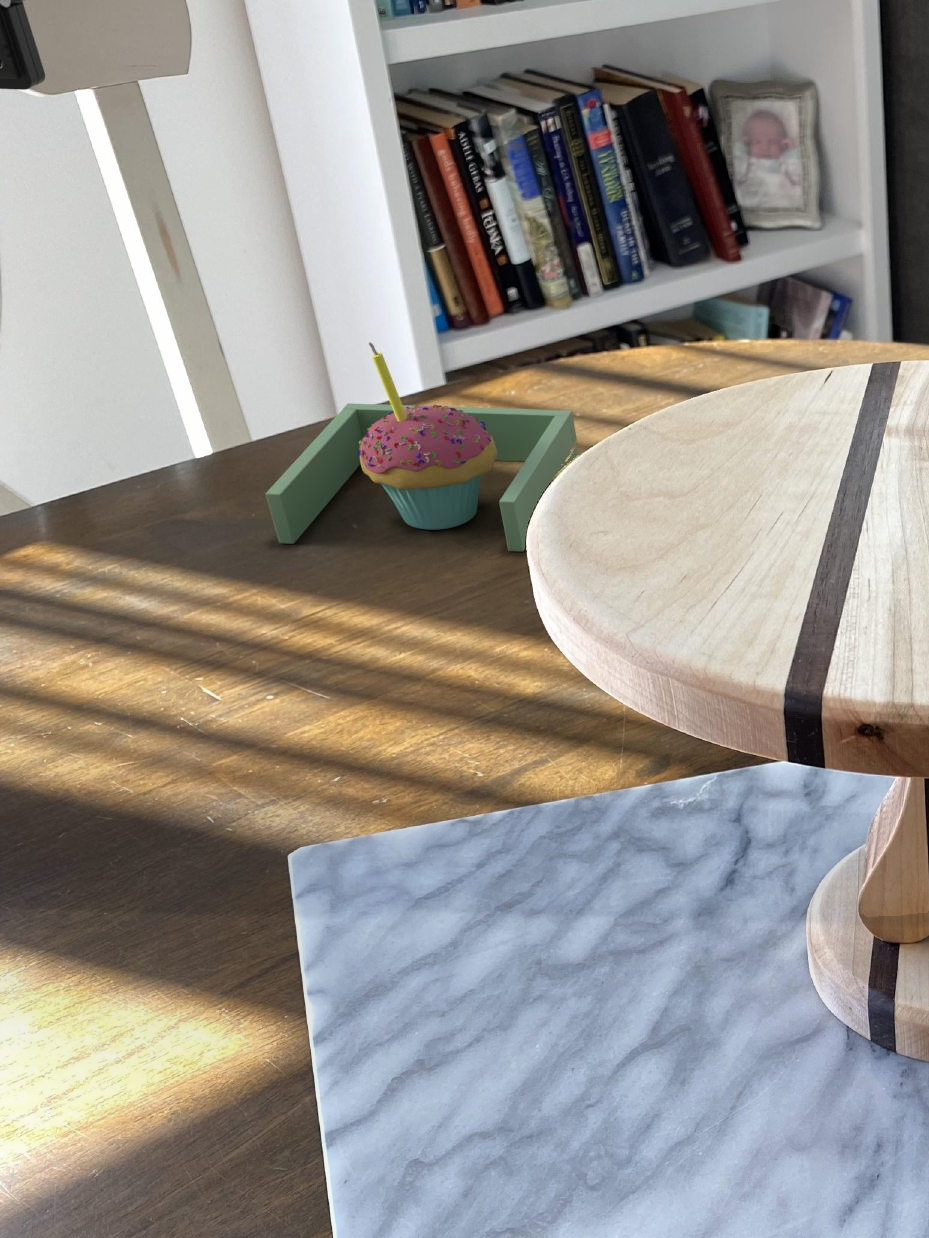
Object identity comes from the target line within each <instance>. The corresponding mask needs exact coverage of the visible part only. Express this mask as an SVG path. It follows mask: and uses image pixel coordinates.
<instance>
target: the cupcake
mask: <svg viewBox="0 0 929 1238" xmlns="http://www.w3.org/2000/svg"><path fill="white" fill-rule="evenodd" d="M367 344H368V345H369V347H370V350H371V351H372V353H373V354H372V355H371V358H372V361H373V363H374V366H375V368H376V371H377V374H378V376H379V378H380V380H381V383H382V385H383V389H384V391H385V393H386V396H387V399H388V400H389V404H390V405H391V406H392V408H393V411H394V413H389V414H388V415H387V416H386V417H383V418H381V419H380V420H379V421H377V422H376V423H375V424H372V425H371V426H372V427H369V428H370V429H369V428H368V429H367V430H369V431H368V432H367V433H366V435H365V437H364V438H363V439H362V440H363V441H362V440H360V441H359V445H360V451H359V452H358V455H359V456H360V462H361V464H360V466H361V470H362V472H363V473H364V474H365V475H367V476H368V477H369V478H370V479H371V481H372V482H373V483H375V484H380V485H381V486H382V487H383V489H384V490H385V492H386V493H387V494H388V497H390V499H391V501H392V503H393V504H394V506H395V507H396V509H397V511H398V512H399V515H400V516H401V518H402V520H403V522H405V523H406V524H407V525H408V526H410V527H412V528H414V529H420V530H426V531H432V530H433V531H437V530H446V529H447V530H448V529H452V528H455V527H459V526H461V525H464V524H466V523H468V522H470V521H471V520H472V519H473V518H474V517H475V516H476V514H477V511H478V504H479V503H478V502H479V494H480V488H481V487H480V486H481V482H482V480H483V476H484V475H486V474H488V473H490V472H491V471H492V470H493V468H494V464H495V462H496V461H497V460H496V458H497V449H496V446H495V443H494V440H493V438H492V436H491V434H490V433H489V432H488V431H487V429H486V428H485V427H484V426H485V423H484V422H479V421H478V419H477V418H476V419H474V418H473V417H472V416H469V415H468V414H465V413H464V411H463V410H457V409H455V408H448V407H449V406H448V405H444V407H442V406H443V405H441V404H439V405H438V404H434V405H413V406H414V407H413V408H409V407H406V408H407V409H405V410H404V408H403V405H404V404H403V402H402V400H401V397H400V395H399V392H398V391H397V388H396V385H395V383H394V380H393V378H392V376H391V373H390V370H389V367H388V365H387V362H386V360H385V357H384V355H383V353H382V352H378V351H377V350H376V348H375V345H374V344H373V343H372V342H370V341H369V342H368V343H367ZM435 406H436V407H435ZM481 423H483V424H481ZM359 453H360V454H359Z"/></svg>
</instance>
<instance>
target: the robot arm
mask: <svg viewBox="0 0 929 1238" xmlns="http://www.w3.org/2000/svg"><path fill="white" fill-rule="evenodd" d="M24 1H26V0H0V90H19V91H20V90H21V91H23V90H25V91H26V90H29V89H31V88H33V87H36V86H37V85H40V84H42V83H44V82H45V80H46V73H45V69H44V66H43V62H42V60H41V56H40V53H39V50H38V46H37V44H36V43H37V42H36V40H35V36H34V33H33V30H32V28H31V24H30V21H29V17H28V14H27V11H26V8H25V5H24Z"/></svg>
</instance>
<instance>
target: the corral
mask: <svg viewBox="0 0 929 1238" xmlns="http://www.w3.org/2000/svg"><path fill="white" fill-rule="evenodd" d="M402 405H403V408H404V410H405V409H407V408H406V407H409V408H413V407H414V406H415V405H410V404H409V405H408V404H402ZM441 406H442V407H444V406H445V405H444V406H443V405H441ZM435 407H436V406H435ZM448 408H455V409H457V410H463V411H464V413H465V414H468V415H469V416H472V417H473V418H474V419H476V418H477V419H478V421H479V422H484V423H485V426H484V427H485V428H486V429H487V431H488V432H489V433H490V434H491V436H492V438H493V440H494V443H495V446H496V449H497V458H496V460H495V461H510V462H511V461H512V462H523V464H522V466H521V467H520V468H519V470H518V472H517V474H516V475H515V477H514V478H513V479H512V481H511V483H510V484H509V486H508V487H507V488H506V490H505V492H504V493H503V495H502V497H501V498H500V499H499V501H498V502H499V508H500V514H501V520H502V524H503V530H504V534H505V539H506V544H507V550H508V552H520V553H521V552H524V551H525V549H526V548H525V536H526V532H527V526H528V521H529V520H530V516H531V513H532V512H533V509H534V507H535V506H536V504H537V501H539V498H540V496H541V495H542V493H543V491H545V489H546V487H547V486H548V485H549V483H550V482H551V480H552V479H553V477H555V475H556V474H557V473H558V471H560V470H561V469H562V468H563V467H564V465H567V463H569V462H570V461H572V460H573V458H575V457H576V456H577V455H579V456H580V452H579V445H578V444H577V446H576V448H575V449H574V451H573V453H572V454H571V456H570V458H569V459H568V461H567V462H565V460H566V458H567V457H568V456H569V455H570V453H571V451H570V450H571V449H572V448H573V445H574V444H575V442H576V441H577V442H578V439H577V433H576V432H577V431H576V425H575V420H574V412H573V410H569V409H568V410H567V409H565V410H564V409H536V408H535V409H533V408H505V407H503V408H501V407H475V406H474V407H470V406H448ZM389 413H394V411H393V408H392V406H391V404H380V403H378V404H377V403H349V402H348V403H346V404H345V406H344V407H343V408H342V409H341V410H340V411H339V412H338V414H337V415H336V416H335V417H334V418H333V419H332V420H331V422H329V424H328V425H327V426H326V427H325V428H324V429H323V430H322V431H321V432H320V434H319V435H317V437H316V438H315V439H314V440H313V441H312V442H311V443H310V444H309V446H307V447H306V448H305V449H304V451H303V452H302V453H301V454H300V455H299V457H298V458H297V459H295V461H294V462H293V463H292V464H291V465H290V466H289V467H288V468H287V469H286V471H284V472H283V474H282V475H281V476H280V477H279V478H278V479H277V481H276V482H274V484H273V485H272V486H271V487H270V488H269V489H267V491H266V492H265V497H266V500H267V504H268V509H269V511H270V515H271V519H272V523H273V525H274V529H275V533H276V536H277V540H278V543H279V544H285V545H288V544H289V545H293V544H296V542H297V541H298V540H299V538H300V537H301V536H302V535H303V533H305V531H306V530H308V528H309V526H310V525H311V524H312V523H313V522H314V520H315V519H316V518H317V517H318V515H320V513H321V512H322V511H323V510H324V509H325V507H326V506H327V505H328V504H329V502H330V501H331V500H332V499H333V498H334V497H335V495H336V494H337V493H338V492H339V491H340V489H341V488H342V487H343V486H344V485H345V484H346V483H347V481H348V480H349V478H351V476H352V475H353V474H354V473H355V472H356V470H357V469H359V467H360V466H361V462H360V456H359V455H358V452H359V451H360V445H359V441H360V440H362V439H363V438H364V437H365V435H366V433H367V432H368V431H369V430H367V429H368V428H369V427H372V426H371V425H372V424H375V423H376V422H377V421H379V420H380V419H381V418H383V417H386V416H387V415H388V414H389ZM481 424H483V423H481ZM369 429H370V428H369ZM362 441H363V440H362ZM359 454H360V453H359ZM561 464H563V465H561Z"/></svg>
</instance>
